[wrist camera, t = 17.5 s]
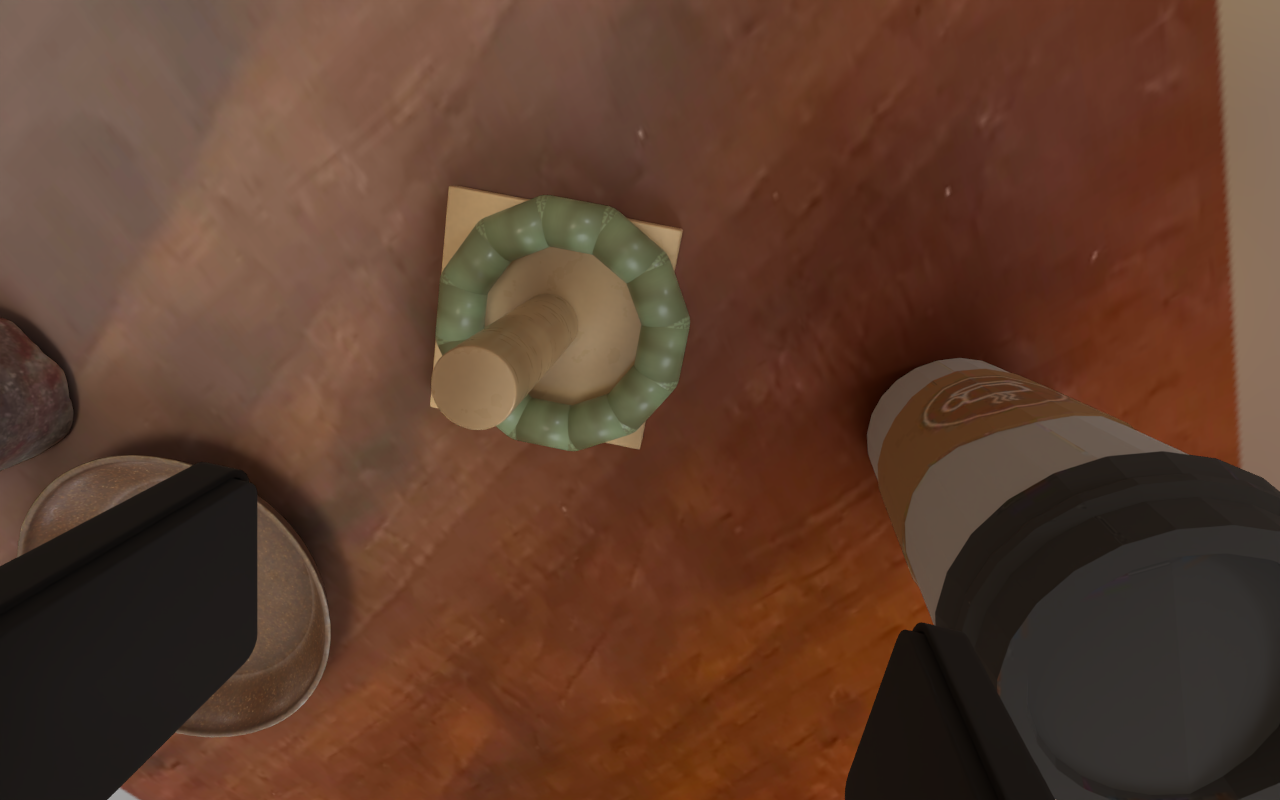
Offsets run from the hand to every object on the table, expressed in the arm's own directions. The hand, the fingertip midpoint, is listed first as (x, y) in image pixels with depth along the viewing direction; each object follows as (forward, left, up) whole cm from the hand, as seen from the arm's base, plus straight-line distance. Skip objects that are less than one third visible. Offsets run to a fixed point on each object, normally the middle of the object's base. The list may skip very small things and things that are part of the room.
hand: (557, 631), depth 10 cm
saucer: (+19, +16, -19) cm, 32 cm away
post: (+4, 0, -19) cm, 20 cm away
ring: (+4, 0, -17) cm, 18 cm away
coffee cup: (-12, +1, -19) cm, 23 cm away
